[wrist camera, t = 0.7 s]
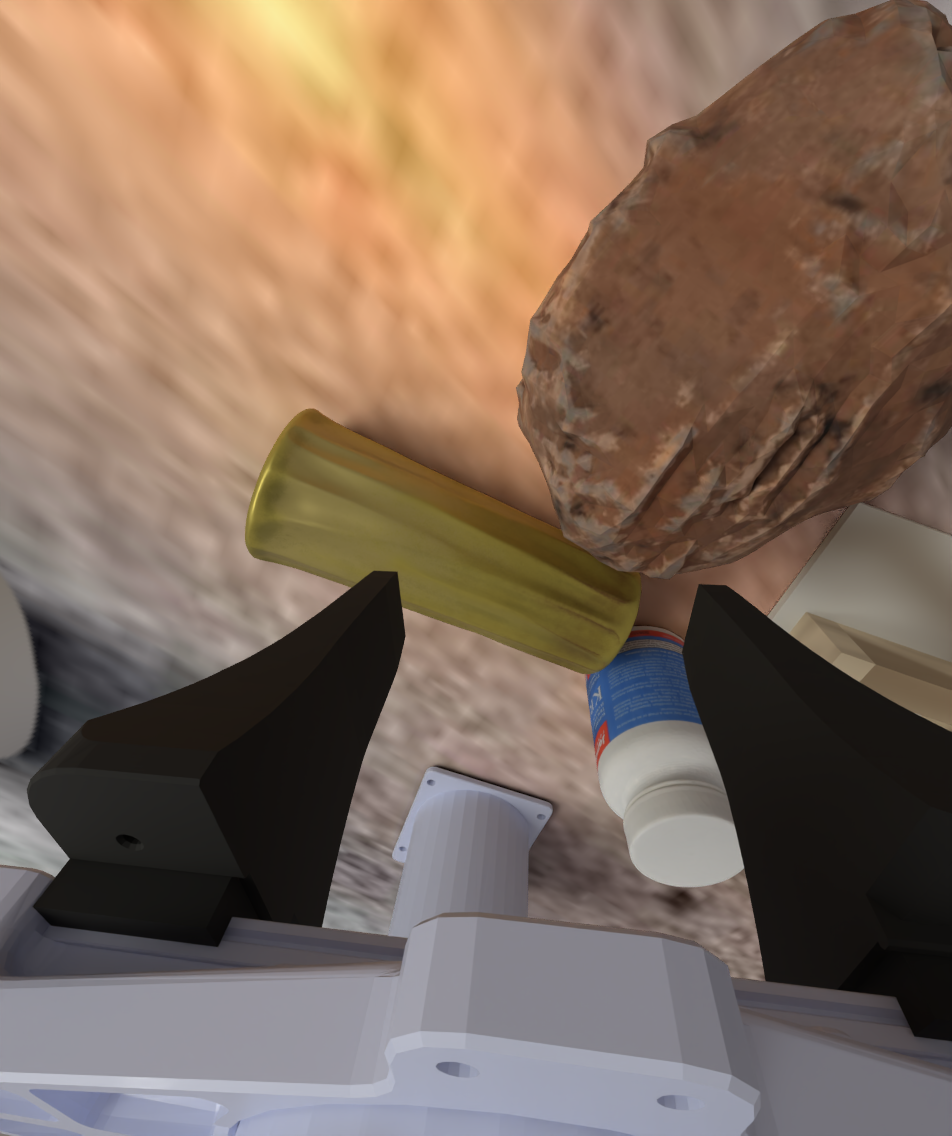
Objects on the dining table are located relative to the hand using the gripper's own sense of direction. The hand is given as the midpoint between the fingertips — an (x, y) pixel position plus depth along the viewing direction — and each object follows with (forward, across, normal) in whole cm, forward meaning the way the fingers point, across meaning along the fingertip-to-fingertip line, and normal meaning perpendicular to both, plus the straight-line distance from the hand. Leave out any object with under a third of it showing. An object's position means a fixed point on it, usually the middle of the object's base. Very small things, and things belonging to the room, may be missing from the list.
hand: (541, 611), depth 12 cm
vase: (+7, +10, 0) cm, 12 cm away
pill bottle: (+10, -5, +10) cm, 15 cm away
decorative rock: (+11, -5, -4) cm, 13 cm away
